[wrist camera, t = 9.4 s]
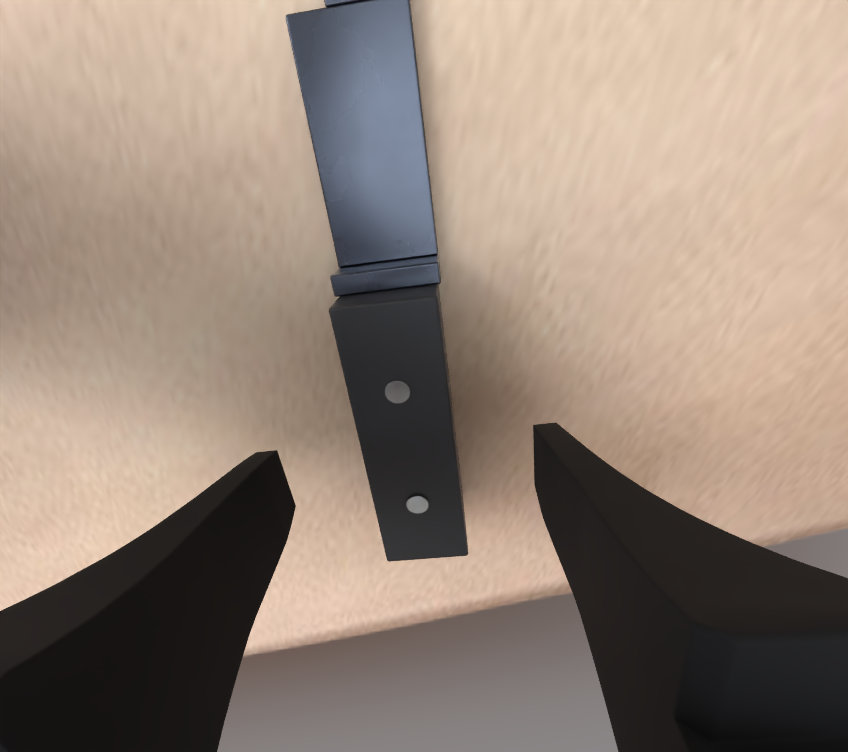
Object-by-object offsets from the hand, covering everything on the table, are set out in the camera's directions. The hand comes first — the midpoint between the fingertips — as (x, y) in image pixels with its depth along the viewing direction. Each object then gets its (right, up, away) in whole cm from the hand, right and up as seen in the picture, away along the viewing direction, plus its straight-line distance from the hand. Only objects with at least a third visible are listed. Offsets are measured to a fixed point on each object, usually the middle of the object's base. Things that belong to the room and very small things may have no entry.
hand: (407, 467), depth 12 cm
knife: (-1, +6, +1) cm, 6 cm away
